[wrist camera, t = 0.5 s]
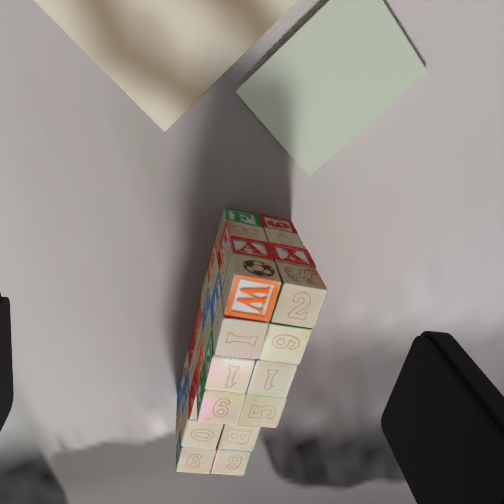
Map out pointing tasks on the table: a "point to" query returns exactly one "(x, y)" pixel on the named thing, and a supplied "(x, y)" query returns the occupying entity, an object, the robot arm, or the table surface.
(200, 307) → the stack of blocks
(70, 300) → the table surface
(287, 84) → the mat
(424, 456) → the robot arm
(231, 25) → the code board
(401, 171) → the table surface
